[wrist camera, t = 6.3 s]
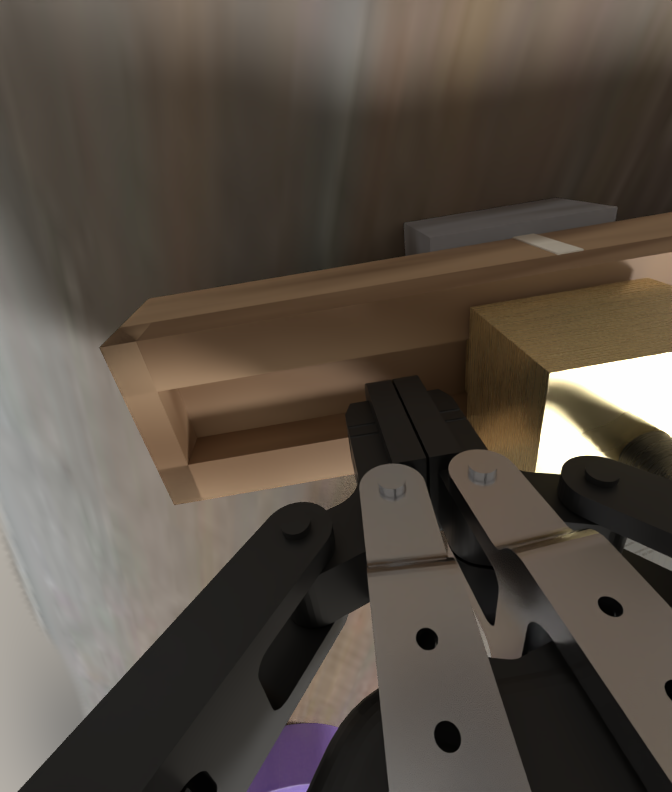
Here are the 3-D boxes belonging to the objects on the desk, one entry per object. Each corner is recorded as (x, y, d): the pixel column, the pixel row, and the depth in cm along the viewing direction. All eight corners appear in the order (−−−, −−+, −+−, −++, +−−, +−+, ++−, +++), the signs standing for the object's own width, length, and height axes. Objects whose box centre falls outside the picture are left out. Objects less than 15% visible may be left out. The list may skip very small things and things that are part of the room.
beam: (171, 260, 18) (90, 330, 11) (783, 160, 19) (1104, 161, 11) (216, 394, 22) (178, 515, 14) (728, 308, 22) (945, 382, 15)
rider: (451, 291, 13) (678, 479, 5) (611, 265, 13) (1056, 413, 5) (450, 424, 15) (601, 676, 8) (583, 401, 15) (856, 629, 8)
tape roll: (349, 713, 42) (356, 777, 38) (354, 760, 48) (361, 820, 43) (233, 731, 41) (226, 797, 37) (253, 775, 47) (249, 837, 43)
